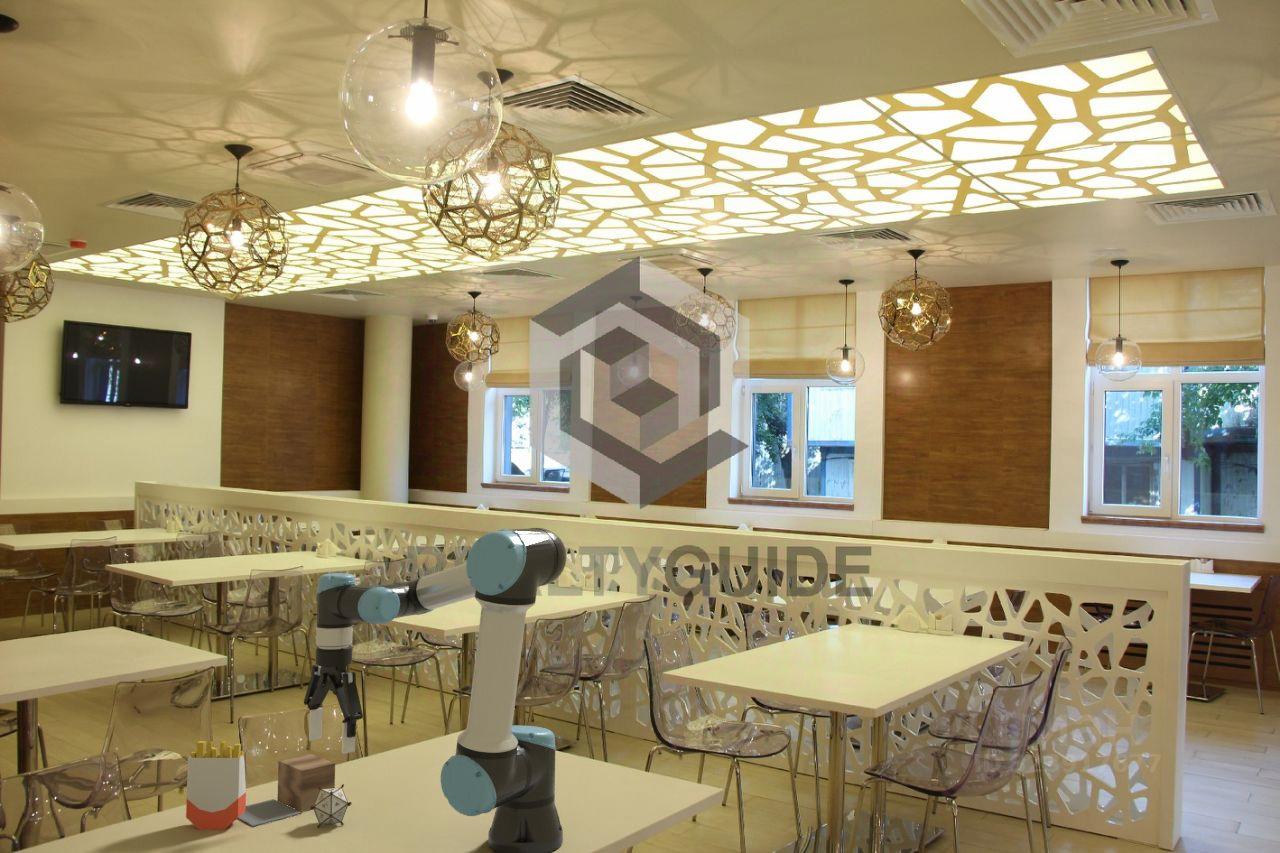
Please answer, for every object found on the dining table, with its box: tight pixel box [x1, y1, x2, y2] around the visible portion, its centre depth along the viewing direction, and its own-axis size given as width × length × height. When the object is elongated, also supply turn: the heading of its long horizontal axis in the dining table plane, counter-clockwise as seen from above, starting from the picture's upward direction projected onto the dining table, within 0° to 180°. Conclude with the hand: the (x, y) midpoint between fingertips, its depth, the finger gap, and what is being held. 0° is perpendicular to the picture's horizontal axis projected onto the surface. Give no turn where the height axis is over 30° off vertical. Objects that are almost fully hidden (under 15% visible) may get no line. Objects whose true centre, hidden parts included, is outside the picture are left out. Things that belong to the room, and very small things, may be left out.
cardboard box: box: [277, 753, 336, 813], centre depth 222 cm, size 11×8×9 cm
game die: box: [310, 783, 353, 829], centre depth 208 cm, size 9×8×10 cm
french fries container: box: [185, 740, 247, 830], centre depth 207 cm, size 5×11×18 cm, turn 91°
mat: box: [237, 798, 303, 828], centre depth 214 cm, size 13×11×1 cm
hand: (331, 745), depth 208 cm, fingers open, 13 cm apart
